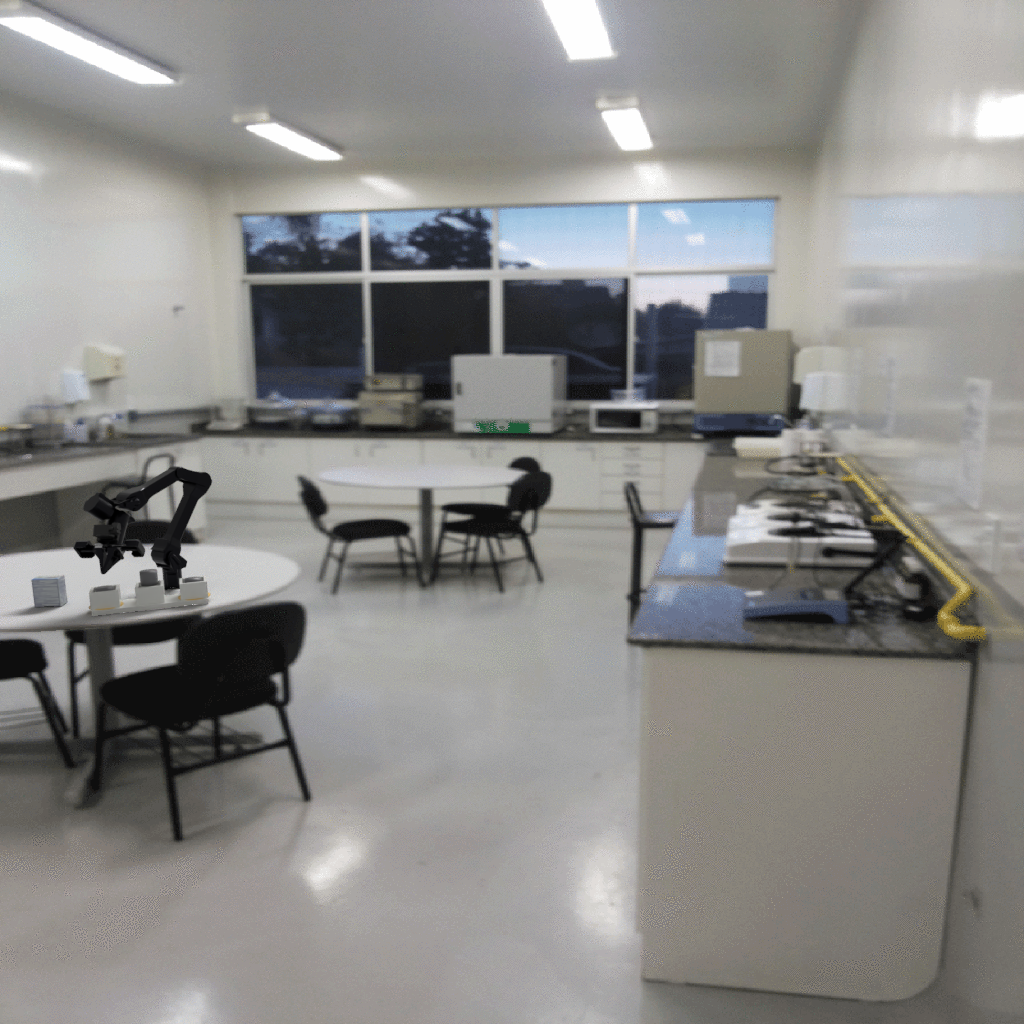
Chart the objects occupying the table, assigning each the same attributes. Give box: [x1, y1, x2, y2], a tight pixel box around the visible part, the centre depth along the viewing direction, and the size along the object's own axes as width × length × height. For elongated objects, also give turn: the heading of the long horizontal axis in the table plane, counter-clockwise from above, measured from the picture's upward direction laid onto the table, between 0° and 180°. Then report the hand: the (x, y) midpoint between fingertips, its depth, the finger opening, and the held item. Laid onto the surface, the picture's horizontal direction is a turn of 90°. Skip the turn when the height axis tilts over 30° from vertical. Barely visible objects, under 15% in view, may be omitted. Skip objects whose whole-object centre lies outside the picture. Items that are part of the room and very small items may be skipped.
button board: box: [88, 575, 211, 617], centre depth 259 cm, size 10×33×6 cm, turn 111°
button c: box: [95, 584, 114, 592], centre depth 254 cm, size 5×5×4 cm
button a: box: [184, 576, 202, 583], centre depth 263 cm, size 5×5×4 cm
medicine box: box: [30, 574, 69, 608], centre depth 262 cm, size 8×4×9 cm, turn 92°
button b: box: [138, 568, 159, 586], centre depth 258 cm, size 5×5×4 cm
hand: (102, 573), depth 253 cm, fingers closed
